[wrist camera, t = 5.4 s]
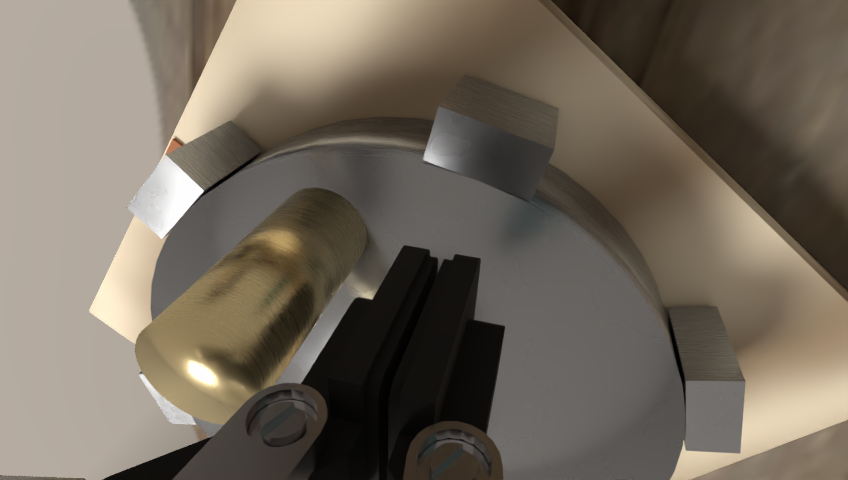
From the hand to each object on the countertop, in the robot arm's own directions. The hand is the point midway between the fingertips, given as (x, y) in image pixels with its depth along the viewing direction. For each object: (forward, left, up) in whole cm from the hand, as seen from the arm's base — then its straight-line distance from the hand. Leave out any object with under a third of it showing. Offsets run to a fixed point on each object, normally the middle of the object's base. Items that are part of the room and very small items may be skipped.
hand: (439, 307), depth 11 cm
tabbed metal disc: (-2, +6, -5) cm, 8 cm away
